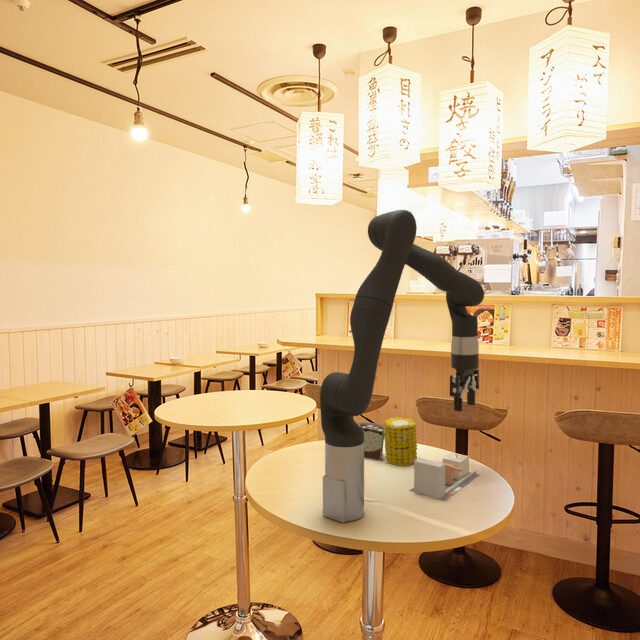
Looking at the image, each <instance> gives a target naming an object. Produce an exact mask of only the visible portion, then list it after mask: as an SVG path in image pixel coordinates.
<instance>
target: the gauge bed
mask: <svg viewBox="0 0 640 640" xmlns="http://www.w3.org/2000/svg"><path fill="white" fill-rule="evenodd" d="M413 469H414V470H413V486H414V487H412V488H410V489H408V491H409V492H413V493H416V494H418V495H422V496H427V497H429V498H433V499H437V500H440V501H444V502H446V501H448V499H450V498H452V497H453V496H455V495H456V494H457V493H459V491H461V490H462V489H464V488H465V487H467V486H468V485H469V484H470V483H471V482H473V481H475V479H477V478H478V477H480V476H481V474H480V473H477V470H474V469H473V470H472V471H469V474H467V475H466V476H465V477H463V478H462V479H460V480H456V479H453V485H448V484H445V464H444V463H443V462H441V463H440V461H434V460H430V459H426V458H421V457H419V458H417V460H415V461H414V464H413Z"/></svg>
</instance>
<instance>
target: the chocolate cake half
mask: <svg viewBox="0 0 640 640" xmlns="http://www.w3.org/2000/svg"><path fill="white" fill-rule="evenodd" d="M356 423H357V424H358V425H359V426H360V427H361V428H362V429H363V431H364V459H366V460H372V461H378V462H381V461H382V459H383V452H384V451H383V450H384V443H385V428H384V426H385V425H382V424H379V423H377V422H376V423H375V422H356Z"/></svg>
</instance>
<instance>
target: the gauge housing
mask: <svg viewBox="0 0 640 640" xmlns="http://www.w3.org/2000/svg"><path fill="white" fill-rule="evenodd" d="M442 463H446V464H450V465H453V467H456V468H460V469H462V472H460V471H455V470H453V479H456V480H460V479H462V478H463V477H465V476H466V475H467V474H469V472H470V465H469V464H470V456H469V455H464V454H460V453H456V452H451V453H449V454H447V455H445V456H444V457H442Z"/></svg>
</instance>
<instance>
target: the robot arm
mask: <svg viewBox="0 0 640 640" xmlns="http://www.w3.org/2000/svg"><path fill="white" fill-rule="evenodd" d="M417 226H418V225H417V220H416V218H415V216H414V214H413V213H412V212H411V211H409V210H407V209H396V210H393V211H392V210H391V211H388V212H385V213H381V214H378V215H376V216H375V217H373V218H372V219H371V220H370V221H369V223H368V225H367V237H368V238H369V241H370V242H371V244H372V245H373V246H374V247H375V248H377V249H378V250H379V251H381V252H380V253H381V254H380V256H379V259H378V260H377V263H376V264H375V266H374V267H373V268H372V269H371V271H370V273H369V274H368V275H367V276H366V277H365V279H364V280H363V281H362V283H361V285H360V287H359V288H358V289H357V293H356V294H355V298H354V301H353V305H352V307H351V308H352V309H351V311H350V316H349V317H350V318H349V323H350V325H349V326H350V330H351V336H352V339H353V347H354V352H353V359H352V363H351V366H350V371H349V373H345V372H338V371H335V372H331V373H329V374H328V375H326V377H325V378H324V379H323V381H322V383H321V386H320V391H319V406H320V423H321V429H322V432H323V434H324V475H322V516H323V517H326V518H328V519H332V520H334V521H337V522H340V523H342V524H344V523H346V522H352V521H356V520H359V519H361V518H362V517H363V516H364V515H365V458H364V431H363V429H362V428H361V427H360V426H359V425H358V424H357V423H358V422H356V420H355V419H354V417H358V416H361V415H363V413H365V412H366V410H367V409H368V407H369V405H370V403H371V400H372V396H373V393H374V388H375V387H374V385H375V381H376V374H377V369H378V364H379V359H380V354H381V351H382V350H381V349H382V345H383V341H384V338H385V335H386V330H387V327H388V325H389V321H390V317H391V313H392V311H393V310H392V309H393V306H394V301H395V299H396V296H397V295H396V294H397V290H398V288H399V284H400V281H401V278H402V274H403V271H404V268H405V266H408V267H409V268H411V269H412V270H413V271H415V272H417V273H419V274H420V275H421V276H422V277H424V278H425V279H426V280H427V281H429V282H430V283H431V284H432V285H434V287H436V288H437V289H439V290H440V291H442V292H445V299H446V300H445V301H446V306H447V309H448V312H449V317H450V319H451V342H450V348H451V349H450V358H451V360H450V368H452V369H453V370H455V374H450V375H449V397H452V398H453V410H454V412H462V411H463V396H464V393H465V392H466V405H468V406H475V405H476V393H477V391H478V390H479V389H480V370H479V363H480V362H479V361H480V358H479V356H480V355H479V353H480V352H479V350H480V346H479V345H480V343H479V335H478V334H479V333H478V332H479V330H478V329H479V327H478V326H479V325H478V323H479V322H478V317H477V316H476V315H473V314H470V313H468V310H467V307H477V306H479V305H480V304H481V303H482V302H483V301H484V298H485V291H484V288H483V286H482V285H481V283H480V282H479V281H478V280H477V279H475V278H473V277H472V276H470V275H467V274H466V273H463V272H461V271H459V270H457V268H455V267H454V266H453V265H452V264H451V263H450V262H448V260H446V259H445V258H443V257H442V256H441V255H439V254H438V253H435V252H433V251H431V250H428V249H426V248H423V247H422V246H420V245H419V246H418V245H417V244H415V240H416V236H417V228H418V227H417Z"/></svg>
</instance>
